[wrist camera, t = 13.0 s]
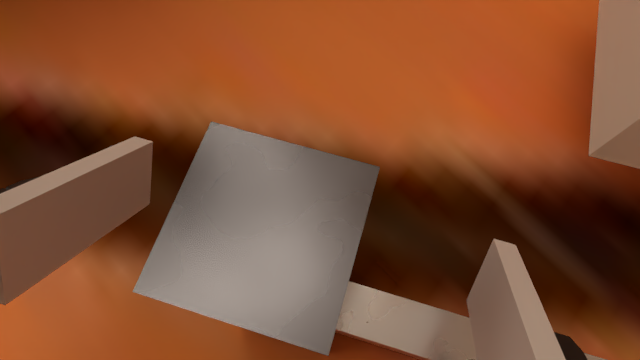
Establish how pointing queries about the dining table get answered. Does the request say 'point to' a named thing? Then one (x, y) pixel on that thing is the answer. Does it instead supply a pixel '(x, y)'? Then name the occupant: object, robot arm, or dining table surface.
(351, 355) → the dining table surface
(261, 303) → the tool
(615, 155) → the cabinet
